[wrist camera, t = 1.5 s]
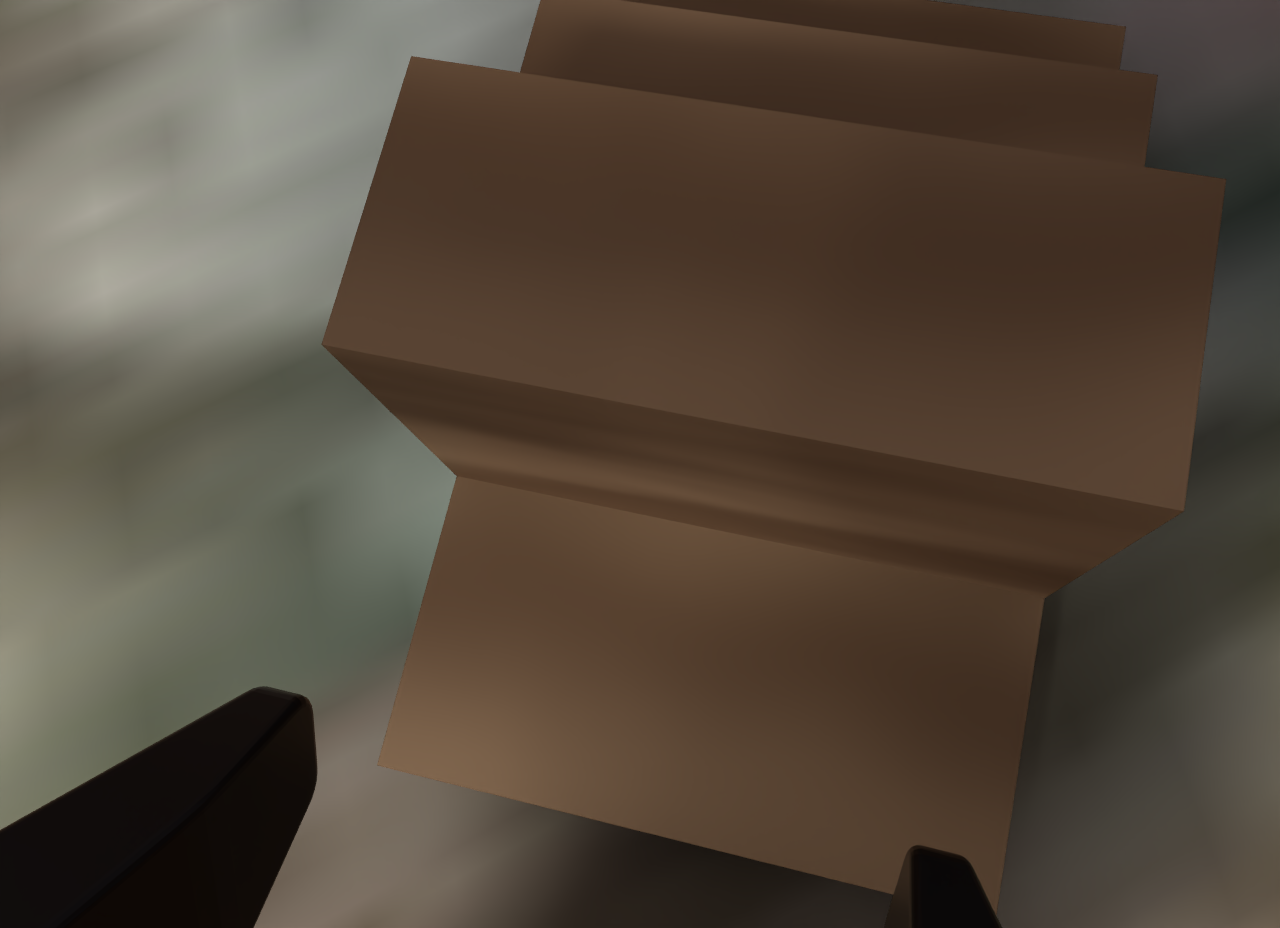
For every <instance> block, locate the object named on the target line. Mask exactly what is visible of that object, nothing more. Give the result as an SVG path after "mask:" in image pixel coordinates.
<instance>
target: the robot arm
mask: <svg viewBox="0 0 1280 928" xmlns="http://www.w3.org/2000/svg"><path fill="white" fill-rule="evenodd" d="M316 781H317V756H316V743H315V731H314V718H313V710H312V705H311V703H310V701H309V700H308V699H307V698H306V697H304V696H303V695H300V694H296V693H292V692H287V691H283V690H279V689H275V688H271V687H265V686H263V687H257V688H254V689H251V690H249V691H247V692H245V693H243V694H242V695H240V696H238V697H236V698H235V699H233V700H231V701H229V702H227V703H226V704H224V705H222V706H220V707H219V708H217V709H215V710H213V711H211V712H210V713H208V714H206V715H204V716H202V717H201V718H199V719H197V720H195V721H194V722H192V723H190V724H188V725H186V726H185V727H183V728H181V729H179V730H178V731H176V732H174V733H172V734H170V735H169V736H167V737H165V738H163V739H162V740H160V741H158V742H156V743H154V744H153V745H151V746H149V747H147V748H145V749H144V750H142V751H140V752H138V753H137V754H135V755H133V756H131V757H129V758H128V759H126V760H124V761H122V762H121V763H119V764H117V765H115V766H113V767H112V768H110V769H108V770H106V771H104V772H103V773H101V774H99V775H97V776H96V777H94V778H92V779H90V780H88V781H87V782H85V783H83V784H81V785H80V786H78V787H76V788H74V789H72V790H71V791H69V792H67V793H65V794H64V795H62V796H60V797H58V798H56V799H55V800H53V801H51V802H49V803H47V804H46V805H44V806H42V807H40V808H39V809H37V810H35V811H33V812H31V813H30V814H28V815H26V816H24V817H23V818H21V819H19V820H17V821H15V822H14V823H12V824H10V825H8V826H7V827H5V828H3V829H1V830H0V928H254V926H255V924H256V921H257V919H258V917H259V915H260V913H261V910H262V908H263V906H264V904H265V901H266V899H267V897H268V895H269V893H270V890H271V888H272V886H273V884H274V882H275V879H276V877H277V875H278V873H279V871H280V868H281V866H282V864H283V862H284V859H285V857H286V855H287V853H288V851H289V848H290V846H291V844H292V842H293V840H294V837H295V835H296V833H297V831H298V829H299V826H300V824H301V822H302V820H303V818H304V815H305V813H306V811H307V809H308V806H309V804H310V802H311V799H312V797H313V793H314V790H315V786H316ZM884 928H1002V927H1001V924H1000V922H999V920H998V918H997V916H996V914H995V912H994V910H993V908H992V906H991V904H990V902H989V900H988V897H987V895H986V893H985V891H984V889H983V887H982V885H981V883H980V881H979V879H978V877H977V875H976V873H975V870H974V869H973V867H972V865H971V863H970V862H969V861H968V860H967V859H966V858H965V857H964V856H961V855H959V854H955V853H951V852H947V851H943V850H938V849H934V848H930V847H926V846H922V845H915V846H913V847H911V848H910V849H909V850H908V851H907V853H906V856H905V859H904V862H903V865H902V868H901V872H900V875H899V878H898V882H897V885H896V888H895V891H894V895H893V898H892V901H891V904H890V908H889V911H888V914H887V918H886V922H885V926H884Z"/></svg>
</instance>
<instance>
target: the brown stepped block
mask: <svg viewBox="0 0 1280 928" xmlns="http://www.w3.org/2000/svg"><path fill="white" fill-rule="evenodd" d="M1125 30H1126V27H1124V26H1117V25H1109V24H1102V23H1094V22H1087V21H1079V20H1072V19H1064V18H1057V17H1049V16H1042V15H1034V14H1027V13H1019V12H1012V11H1004V10H997V9H989V8H982V7H974V6H967V5H960V4H952V3H945V2H937V1H930V0H541V1H540V4H539V8H538V11H537V15H536V18H535V22H534V25H533V29H532V32H531V36H530V39H529V43H528V46H527V50H526V53H525V57H524V60H523V64H522V67H521V71H520V73H519V72H512V71H506V70H499V69H493V68H486V67H479V66H473V65H466V64H459V63H453V62H446V61H440V60H433V59H426V58H420V57H413V56H411V59H410V62H409V65H408V68H407V72H406V75H405V78H404V81H403V84H402V88H401V91H400V94H399V97H398V100H397V104H396V107H395V110H394V113H393V117H392V120H391V123H390V126H389V129H388V133H387V136H386V139H385V142H384V145H383V149H382V152H381V155H380V158H379V162H378V165H377V168H376V171H375V174H374V178H373V181H372V184H371V187H370V190H369V194H368V197H367V200H366V203H365V207H364V210H363V213H362V216H361V219H360V223H359V226H358V229H357V232H356V235H355V239H354V242H353V245H352V248H351V252H350V255H349V258H348V261H347V264H346V268H345V271H344V274H343V277H342V281H341V284H340V287H339V290H338V293H337V297H336V300H335V303H334V306H333V309H332V313H331V316H330V319H329V322H328V326H327V329H326V332H325V335H324V338H323V342H322V345H323V346H324V347H325V348H326V349H327V350H328V351H329V352H330V353H331V354H332V355H333V356H334V357H335V358H336V359H337V360H338V361H339V362H340V363H341V364H342V365H343V366H344V367H345V368H346V369H347V370H348V371H349V372H350V373H351V374H352V375H353V376H354V377H355V378H357V379H358V380H359V381H360V382H361V383H362V384H363V385H364V386H365V387H366V388H367V389H368V390H369V391H370V392H371V393H372V394H373V395H374V396H375V397H376V398H377V399H378V400H379V401H380V402H381V403H382V404H383V405H384V406H385V407H386V408H387V409H388V410H389V411H390V412H391V413H393V414H394V415H395V416H396V417H397V418H398V419H399V420H400V421H401V422H402V423H403V424H404V425H405V426H406V427H407V428H408V429H409V430H410V431H411V432H412V433H413V434H414V435H415V436H416V437H417V438H418V439H419V440H420V441H421V442H422V443H423V444H424V445H425V446H426V447H427V448H429V449H430V450H431V451H432V452H433V453H434V454H435V455H436V456H437V457H438V458H439V459H440V460H441V461H442V462H443V463H444V464H445V465H446V466H447V467H448V468H449V469H450V470H451V471H452V472H453V473H454V474H455V475H456V476H457V477H456V481H455V485H454V488H453V492H452V495H451V499H450V503H449V506H448V510H447V514H446V517H445V521H444V525H443V528H442V532H441V535H440V539H439V543H438V546H437V550H436V554H435V557H434V561H433V564H432V568H431V572H430V575H429V579H428V583H427V586H426V590H425V594H424V597H423V601H422V604H421V608H420V612H419V615H418V619H417V623H416V626H415V630H414V633H413V637H412V641H411V644H410V648H409V652H408V655H407V659H406V663H405V666H404V670H403V673H402V677H401V681H400V684H399V688H398V692H397V695H396V699H395V702H394V706H393V710H392V713H391V717H390V721H389V724H388V728H387V732H386V735H385V739H384V742H383V746H382V750H381V753H380V757H379V761H378V764H377V765H378V766H382V767H386V768H390V769H394V770H398V771H402V772H406V773H410V774H414V775H418V776H422V777H426V778H430V779H434V780H438V781H442V782H446V783H450V784H454V785H458V786H462V787H466V788H470V789H474V790H478V791H482V792H486V793H490V794H494V795H498V796H502V797H506V798H510V799H514V800H518V801H522V802H526V803H530V804H534V805H538V806H542V807H546V808H550V809H554V810H558V811H562V812H566V813H570V814H574V815H578V816H582V817H586V818H590V819H594V820H598V821H602V822H606V823H610V824H614V825H618V826H622V827H626V828H630V829H634V830H638V831H642V832H646V833H650V834H654V835H658V836H662V837H666V838H670V839H674V840H678V841H682V842H686V843H690V844H694V845H698V846H702V847H706V848H709V849H713V850H717V851H721V852H725V853H729V854H733V855H737V856H741V857H745V858H749V859H753V860H757V861H761V862H765V863H769V864H773V865H777V866H781V867H785V868H789V869H793V870H797V871H801V872H805V873H809V874H813V875H817V876H821V877H825V878H829V879H833V880H837V881H841V882H845V883H849V884H853V885H857V886H861V887H865V888H869V889H873V890H877V891H881V892H885V893H889V894H893V895H894V891H895V888H896V885H897V882H898V878H899V875H900V872H901V868H902V865H903V862H904V859H905V856H906V853H907V851H908V850H909V849H910V848H911V847H913V846H915V845H922V846H926V847H930V848H934V849H938V850H943V851H947V852H951V853H955V854H959V855H961V856H964V857H965V858H966V859H967V860H968V861H969V862H970V863H971V865H972V867H973V869H974V870H975V873H976V875H977V877H978V879H979V881H980V883H981V885H982V887H983V889H984V891H985V893H986V895H987V897H988V900H989V902H990V904H991V906H992V908H993V910H994V912H995V914H997V907H998V901H999V894H1000V888H1001V881H1002V874H1003V868H1004V861H1005V855H1006V848H1007V842H1008V835H1009V828H1010V822H1011V815H1012V809H1013V802H1014V796H1015V789H1016V782H1017V776H1018V769H1019V763H1020V756H1021V750H1022V743H1023V736H1024V730H1025V723H1026V717H1027V710H1028V704H1029V697H1030V690H1031V684H1032V677H1033V671H1034V664H1035V658H1036V651H1037V645H1038V638H1039V631H1040V625H1041V618H1042V612H1043V605H1044V599H1045V598H1046V597H1047V596H1049V595H1050V594H1052V593H1054V592H1055V591H1057V590H1058V589H1060V588H1062V587H1063V586H1065V585H1066V584H1068V583H1070V582H1071V581H1073V580H1075V579H1076V578H1078V577H1079V576H1081V575H1083V574H1084V573H1086V572H1087V571H1089V570H1091V569H1092V568H1094V567H1095V566H1097V565H1099V564H1100V563H1102V562H1103V561H1105V560H1107V559H1108V558H1110V557H1111V556H1113V555H1115V554H1116V553H1118V552H1119V551H1121V550H1123V549H1124V548H1126V547H1127V546H1129V545H1131V544H1132V543H1134V542H1135V541H1137V540H1139V539H1140V538H1142V537H1143V536H1145V535H1147V534H1148V533H1150V532H1152V531H1153V530H1155V529H1156V528H1158V527H1160V526H1161V525H1163V524H1164V523H1166V522H1168V521H1169V520H1171V519H1172V518H1174V517H1176V516H1177V515H1179V514H1180V513H1182V512H1184V508H1185V500H1186V492H1187V484H1188V476H1189V468H1190V461H1191V453H1192V445H1193V437H1194V429H1195V421H1196V413H1197V405H1198V397H1199V390H1200V382H1201V374H1202V366H1203V358H1204V350H1205V342H1206V334H1207V326H1208V319H1209V311H1210V303H1211V295H1212V287H1213V279H1214V271H1215V263H1216V255H1217V248H1218V240H1219V232H1220V224H1221V216H1222V208H1223V200H1224V192H1225V185H1226V179H1222V178H1215V177H1208V176H1202V175H1195V174H1189V173H1182V172H1175V171H1169V170H1162V169H1155V168H1149V167H1144V166H1145V160H1146V153H1147V146H1148V139H1149V132H1150V125H1151V118H1152V111H1153V104H1154V97H1155V90H1156V84H1157V77H1158V75H1154V74H1146V73H1139V72H1132V71H1125V70H1119V69H1120V62H1121V56H1122V49H1123V43H1124V36H1125Z"/></svg>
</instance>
